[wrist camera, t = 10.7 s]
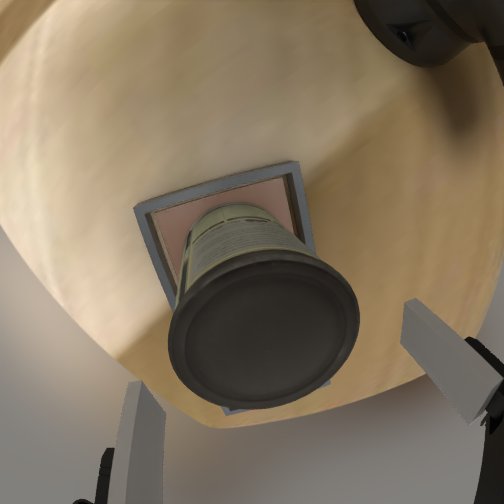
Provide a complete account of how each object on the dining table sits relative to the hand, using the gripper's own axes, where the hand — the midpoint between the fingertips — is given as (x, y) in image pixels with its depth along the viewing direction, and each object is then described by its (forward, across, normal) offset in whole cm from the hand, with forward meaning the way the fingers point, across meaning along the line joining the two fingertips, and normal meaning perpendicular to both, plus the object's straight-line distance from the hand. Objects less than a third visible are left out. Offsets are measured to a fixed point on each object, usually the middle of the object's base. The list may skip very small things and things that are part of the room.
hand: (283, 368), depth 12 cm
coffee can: (+16, -1, 0) cm, 16 cm away
